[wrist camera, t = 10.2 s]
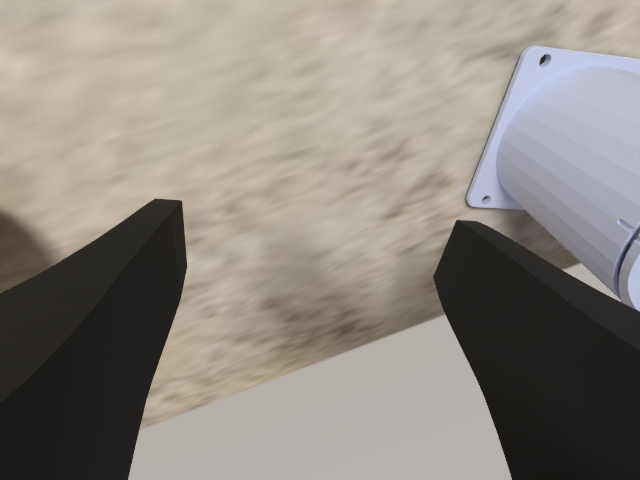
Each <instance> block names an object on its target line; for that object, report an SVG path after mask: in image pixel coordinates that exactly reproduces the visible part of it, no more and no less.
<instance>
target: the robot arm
mask: <svg viewBox="0 0 640 480" xmlns="http://www.w3.org/2000/svg"><path fill="white" fill-rule="evenodd" d="M544 55H546V59H545V61H544V62H543V63H542V64H541V65H540V64H539V61H540V59H541V57H542V56H544ZM485 196H487V198H486V199H485V200H483V201H482V199H483V198H484V197H485ZM466 201H467V203H468V204H469V205H470V206H472V207H481V208H500V209H518V210H525V211H527V212H528V213H529V214H530V215H531V216H532V217H533V218H534V219H535V220H536V221H537V222H538V223H539V224H540V225H541V226H543V227H544V228H545V229H546V230H547V231H548V232H549V233H550V234H551V235H552V236H553V237H554V238H555V239H556V240H557V241H559V242H560V243H561V244H562V245H563V246H564V247H565V248H566V249H567V250H568V251H569V252H570V253H571V254H572V255H573V256H575V257H576V258H577V259H578V260H579V261H580V262H581V263H582V264H583V265H584V266H585V267H586V268H587V269H588V270H590V271H591V272H592V273H593V274H594V275H595V276H596V277H597V278H598V279H599V280H600V281H601V282H602V283H603V284H605V285H606V286H607V287H608V288H609V289H610V290H611V291H612V292H613V293H614V294H615V295H616V296H617V297H618V298H620V300H621V302H619V301H617V300H615V299H613V298H611V297H609V296H607V295H606V294H604V293H602V292H600V291H598V290H596V289H594V288H593V287H591V286H589V285H587V284H585V283H584V282H582V281H580V280H578V279H576V278H575V277H573V276H571V275H569V274H568V273H566V272H564V271H562V270H561V269H559V268H557V267H556V266H554V265H552V264H551V263H549V262H547V261H546V260H544V259H542V258H541V257H539V256H537V255H536V254H534V253H532V252H531V251H529V250H528V249H526V248H524V247H523V246H521V245H519V244H518V243H516V242H514V241H513V240H511V239H509V238H508V237H506V236H504V235H503V234H501V233H499V232H497V231H496V230H494V229H492V228H490V227H488V226H486V225H484V224H482V223H480V222H477V221H464V220H457V221H456V223H455V225H454V228H453V230H452V233H451V235H450V238H449V240H448V242H447V245H446V247H445V250H444V252H443V255H442V257H441V259H440V262H439V264H438V267H437V269H436V272H435V274H434V276H433V278H434V281H435V285H436V288H437V292H438V295H439V298H440V301H441V304H442V307H443V310H444V312H445V314H446V316H447V318H448V320H449V322H450V325H451V327H452V329H453V331H454V333H455V335H456V337H457V339H458V341H459V344H460V346H461V348H462V350H463V352H464V354H465V356H466V358H467V360H468V362H469V364H470V366H471V368H472V370H473V372H474V374H475V376H476V378H477V381H478V383H479V385H480V388H481V390H482V392H483V395H484V397H485V400H486V403H487V405H488V408H489V411H490V414H491V417H492V419H493V422H494V425H495V428H496V430H497V433H498V436H499V440H500V443H501V446H502V449H503V452H504V455H505V458H506V461H507V464H508V467H509V470H510V473H511V477H512V480H640V59H639V58H631V57H623V56H615V55H607V54H599V53H591V52H584V51H576V50H568V49H560V48H552V47H544V46H536V45H535V46H530V47H528V48H526V49H525V50H524V51H523V53H522V55H521V56H520V59H519V61H518V64H517V67H516V69H515V72H514V74H513V77H512V80H511V82H510V85H509V87H508V90H507V93H506V95H505V98H504V100H503V103H502V106H501V108H500V111H499V113H498V116H497V118H496V121H495V124H494V126H493V129H492V131H491V134H490V137H489V139H488V142H487V144H486V147H485V150H484V152H483V155H482V157H481V160H480V162H479V165H478V168H477V170H476V173H475V175H474V178H473V181H472V183H471V186H470V188H469V191H468V194H467V196H466ZM186 269H187V259H186V246H185V234H184V221H183V209H182V201H180V200H166V199H154V200H153V201H151V202H149V203H148V204H146V205H145V206H144V207H142V208H141V209H139V210H138V211H136V212H135V213H134V214H132V215H131V216H129V217H128V218H127V219H125V220H124V221H122V222H121V223H119V224H118V225H117V226H115V227H114V228H112V229H111V230H109V231H108V232H106V233H105V234H103V235H102V236H101V237H99V238H98V239H96V240H95V241H93V242H91V243H90V244H88V245H86V246H85V247H83V248H82V249H80V250H78V251H77V252H75V253H73V254H72V255H70V256H69V257H67V258H65V259H64V260H62V261H61V262H59V263H57V264H56V265H54V266H52V267H50V268H49V269H47V270H45V271H43V272H41V273H39V274H38V275H36V276H34V277H32V278H30V279H28V280H26V281H24V282H22V283H20V284H18V285H16V286H14V287H12V288H10V289H9V290H7V291H5V292H3V293H1V294H0V480H128V476H129V472H130V468H131V463H132V459H133V454H134V450H135V445H136V440H137V436H138V433H139V428H140V424H141V420H142V416H143V412H144V408H145V403H146V399H147V396H148V393H149V389H150V386H151V383H152V380H153V377H154V374H155V371H156V368H157V365H158V363H159V360H160V357H161V354H162V351H163V348H164V346H165V343H166V340H167V337H168V334H169V331H170V329H171V326H172V323H173V320H174V317H175V314H176V311H177V308H178V305H179V302H180V299H181V294H182V289H183V285H184V280H185V274H186Z"/></svg>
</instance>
